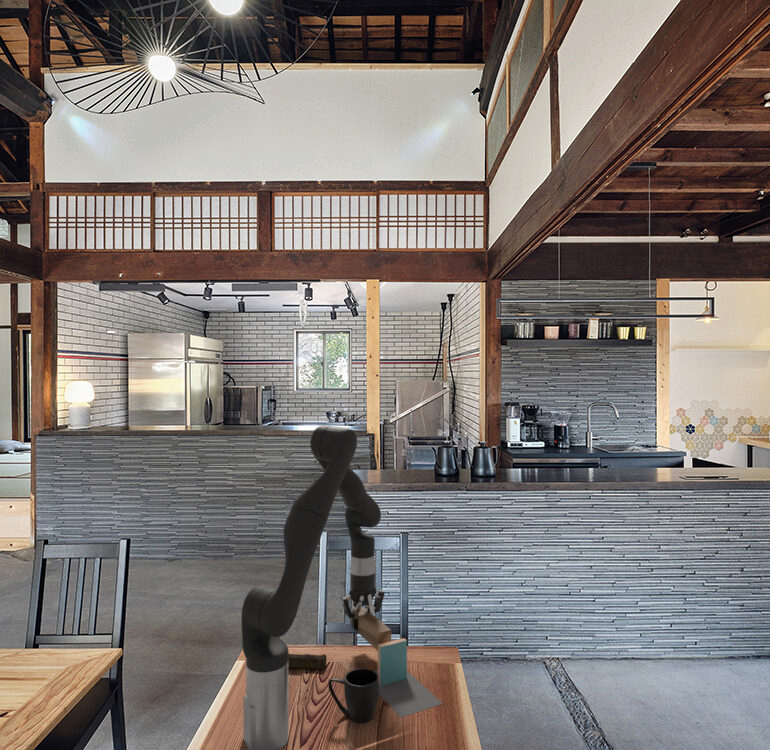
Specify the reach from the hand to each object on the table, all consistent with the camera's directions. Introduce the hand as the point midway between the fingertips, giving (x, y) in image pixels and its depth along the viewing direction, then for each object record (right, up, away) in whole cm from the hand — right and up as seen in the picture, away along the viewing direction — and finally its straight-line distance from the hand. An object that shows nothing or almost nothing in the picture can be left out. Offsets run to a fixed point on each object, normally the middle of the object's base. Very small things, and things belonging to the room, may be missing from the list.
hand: (362, 628), depth 159 cm
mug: (-1, -6, -31) cm, 32 cm away
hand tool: (-19, -7, -9) cm, 23 cm away
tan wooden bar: (+2, 0, -4) cm, 5 cm away
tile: (+9, -6, -16) cm, 19 cm away
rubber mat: (+10, -7, -20) cm, 23 cm away
